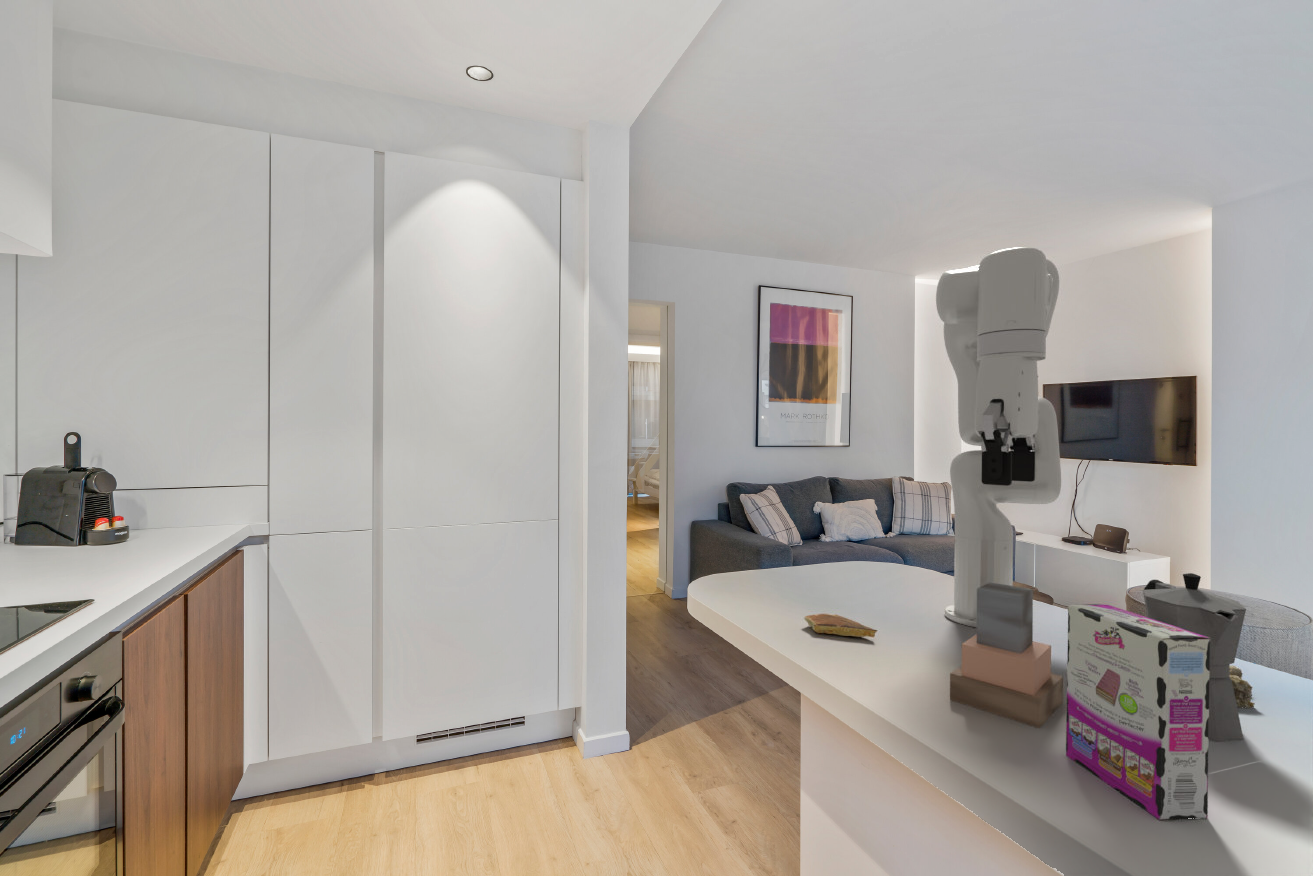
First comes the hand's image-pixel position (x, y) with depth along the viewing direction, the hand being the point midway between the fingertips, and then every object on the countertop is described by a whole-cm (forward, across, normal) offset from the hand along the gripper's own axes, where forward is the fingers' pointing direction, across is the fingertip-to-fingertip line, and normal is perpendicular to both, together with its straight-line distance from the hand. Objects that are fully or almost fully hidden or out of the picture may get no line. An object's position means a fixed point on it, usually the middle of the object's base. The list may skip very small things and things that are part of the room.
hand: (1009, 482), depth 75 cm
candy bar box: (+28, +11, +14) cm, 34 cm away
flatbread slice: (+30, -12, -25) cm, 40 cm away
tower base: (+29, 0, 0) cm, 29 cm away
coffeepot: (+28, -11, +16) cm, 34 cm away
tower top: (+25, 0, 0) cm, 25 cm away
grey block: (+21, 0, 0) cm, 21 cm away
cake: (+29, -24, +18) cm, 41 cm away
